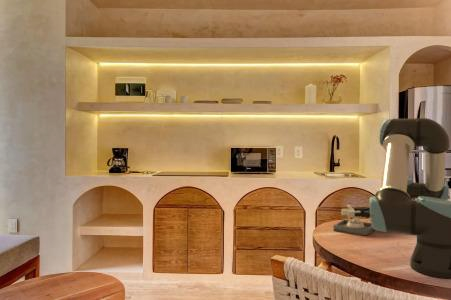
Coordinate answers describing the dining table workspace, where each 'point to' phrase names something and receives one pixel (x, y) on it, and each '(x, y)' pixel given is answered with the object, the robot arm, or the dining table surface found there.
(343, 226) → the tray
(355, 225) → the white vr controller
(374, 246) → the dining table surface
